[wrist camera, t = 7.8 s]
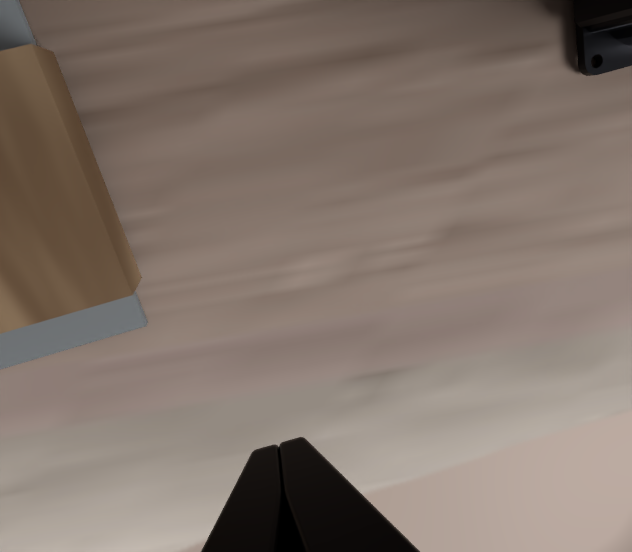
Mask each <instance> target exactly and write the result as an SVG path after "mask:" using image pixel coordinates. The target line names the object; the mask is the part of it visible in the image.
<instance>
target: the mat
mask: <svg viewBox="0 0 632 552" xmlns="http://www.w3.org/2000/svg"><path fill="white" fill-rule="evenodd" d="M28 44H33V45H36V42H35V40H34V37H33V35H32V32H31V30H30V27H29V25H28V22H27V20H26V17H25V15H24V12H23V10H22V7H21V5H20V2H19V0H0V51H3V50H7V49H11V48H15V47H19V46H23V45H28ZM36 46H37V45H36ZM147 323H148V321H147V319H146V316H145V314H144V311H143V309H142V306H141V304H140V302H139V299H138V297H137V294H136V292H134V294H133V295H132V296H128V297H125V298H121V299H118V300H115V301H111V302H108V303H104V304H101V305H97V306H94V307H90V308H87V309H84V310H80V311H77V312H73V313H70V314H66V315H63V316H60V317H56V318H53V319H49V320H46V321H42V322H39V323H36V324H32V325H29V326H25V327H22V328H18V329H15V330H11V331H8V332H5V333H1V334H0V369H3V368H7V367H10V366H13V365H17V364H20V363H23V362H27V361H30V360H34V359H37V358H40V357H44V356H47V355H50V354H54V353H57V352H60V351H64V350H67V349H71V348H74V347H77V346H81V345H84V344H87V343H91V342H94V341H97V340H101V339H104V338H108V337H111V336H114V335H118V334H121V333H124V332H128V331H131V330H134V329H138V328H141V327H145V326H146V325H147Z"/></svg>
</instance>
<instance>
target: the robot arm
mask: <svg viewBox="0 0 632 552" xmlns="http://www.w3.org/2000/svg"><path fill="white" fill-rule="evenodd" d="M574 16H575V22H576V35H577V51H578V66H579V70H580V72H581V73H582V74H584V75H586V76H591V75H598V74H602V73H606V72H609V71H613V70H617V69H620V68H624V67H627V66H631V65H632V0H574ZM593 56H594V57H595V60H596V62H595V65H594V67H592V65H591V59H592V58H593ZM201 552H420V551H419V550H418V549H417V548H416V547H415V546H414V545H412V543H411V542H410V541H409V540H408V539H407V538H406V537H405V536H404V535H403V534H402V533H401V532H400V531H399V530H397V529H396V528H395V527H394V526H393V525H392V524H391V523H390V522H389V521H388V520H387V519H386V518H385V517H384V516H383V515H382V514H381V513H380V512H379V511H378V510H377V509H376V508H375V507H374V506H373V505H372V504H371V503H370V502H369V501H368V500H367V499H366V498H365V497H364V496H363V495H362V494H361V493H360V492H359V491H358V490H357V489H356V488H355V487H354V486H353V485H352V484H351V483H350V482H349V481H348V480H347V479H346V478H345V477H344V476H343V475H342V474H341V473H340V472H339V471H338V470H337V469H336V468H335V467H334V466H333V465H332V464H331V463H330V462H329V461H328V460H326V459H325V458H324V457H323V456H322V455H321V454H320V453H319V452H318V451H317V450H316V449H315V448H314V447H313V446H312V445H311V444H310V443H309V442H308V441H307V440H306V439H305V438H303V437H299V438H295V439H292V440H288V441H285V442H282V443H281V444H280V446H279V447H278V446H277V445H271V446H267V447H263V448H260V449H256V450H254V451H253V452H252V454H251V456H250V457H249V459H248V461H247V463H246V465H245V467H244V469H243V471H242V473H241V475H240V477H239V479H238V481H237V483H236V485H235V487H234V489H233V491H232V493H231V494H230V496H229V498H228V500H227V502H226V504H225V506H224V508H223V510H222V512H221V514H220V516H219V518H218V520H217V522H216V524H215V526H214V528H213V530H212V531H211V533H210V535H209V537H208V539H207V541H206V543H205V545H204V547H203V549H202V551H201Z"/></svg>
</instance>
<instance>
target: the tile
mask: <svg viewBox="0 0 632 552" xmlns="http://www.w3.org/2000/svg"><path fill="white" fill-rule="evenodd" d="M141 278H142V277H141V274H140V272H139V269H138V267H137V264H136V262H135V259H134V256H133V254H132V251H131V249H130V246H129V244H128V241H127V239H126V236H125V233H124V231H123V228H122V226H121V223H120V221H119V218H118V216H117V213H116V211H115V208H114V205H113V203H112V200H111V198H110V195H109V193H108V190H107V188H106V185H105V182H104V180H103V177H102V175H101V172H100V170H99V167H98V165H97V162H96V159H95V157H94V154H93V152H92V149H91V147H90V144H89V142H88V139H87V137H86V134H85V131H84V129H83V126H82V124H81V121H80V119H79V116H78V114H77V111H76V108H75V106H74V103H73V101H72V98H71V96H70V93H69V91H68V88H67V86H66V83H65V80H64V78H63V75H62V73H61V70H60V68H59V65H58V63H57V60H56V57H55V55H54V52H52V51H49V50H46V49H44V48H41V47H39V46H36V45H33V44H28V45H23V46H19V47H15V48H11V49H7V50H3V51H0V334H1V333H5V332H8V331H11V330H15V329H18V328H22V327H25V326H29V325H32V324H36V323H39V322H42V321H46V320H49V319H53V318H56V317H60V316H63V315H66V314H70V313H73V312H77V311H80V310H84V309H87V308H90V307H94V306H97V305H101V304H104V303H108V302H111V301H115V300H118V299H121V298H125V297H128V296H132V295H133V294H134V292H135V290H136V288H137V286H138V284H139V282H140V280H141Z"/></svg>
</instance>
